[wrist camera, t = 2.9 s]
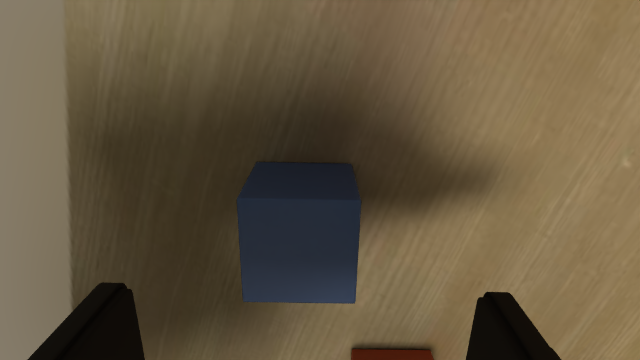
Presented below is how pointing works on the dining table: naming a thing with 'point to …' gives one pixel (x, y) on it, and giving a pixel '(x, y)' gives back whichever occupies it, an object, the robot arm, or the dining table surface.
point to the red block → (390, 354)
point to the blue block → (299, 233)
